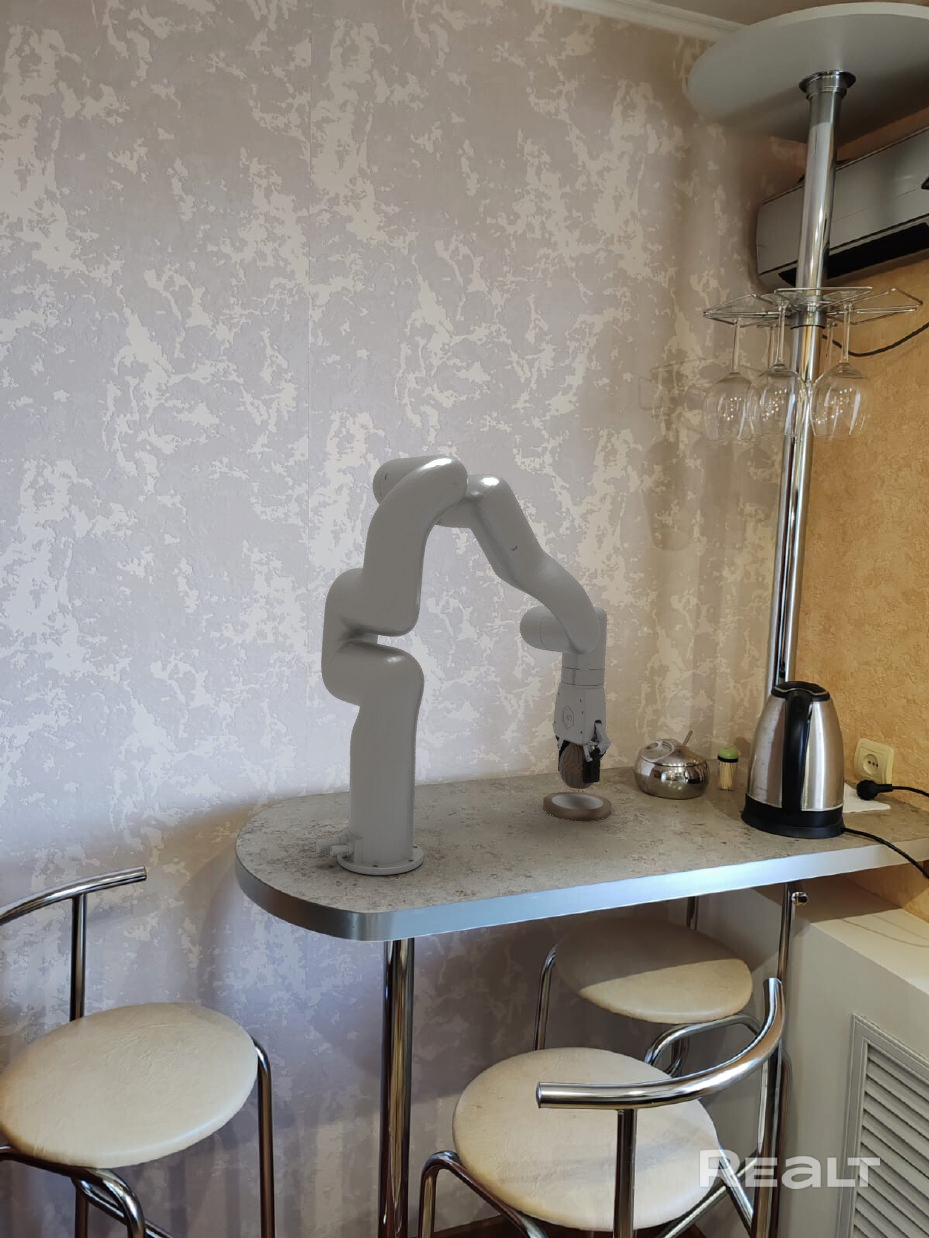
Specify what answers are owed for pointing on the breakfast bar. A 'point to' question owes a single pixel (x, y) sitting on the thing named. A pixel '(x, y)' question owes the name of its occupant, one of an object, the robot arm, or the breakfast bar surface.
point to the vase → (573, 766)
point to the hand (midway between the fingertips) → (578, 775)
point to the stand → (577, 806)
